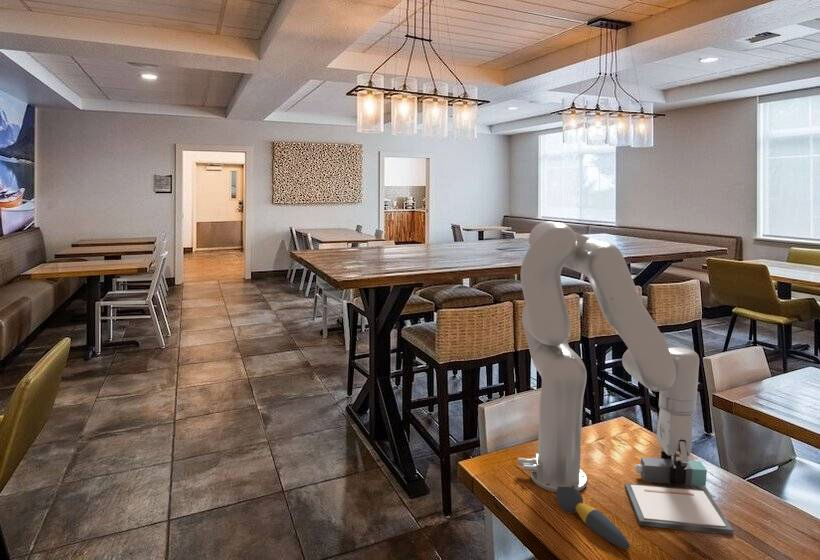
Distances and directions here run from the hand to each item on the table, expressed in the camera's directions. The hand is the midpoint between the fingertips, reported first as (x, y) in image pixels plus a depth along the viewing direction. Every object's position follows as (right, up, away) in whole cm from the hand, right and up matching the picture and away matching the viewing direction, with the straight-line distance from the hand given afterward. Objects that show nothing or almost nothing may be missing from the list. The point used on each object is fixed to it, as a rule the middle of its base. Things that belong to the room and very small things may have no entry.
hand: (672, 474), depth 119 cm
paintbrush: (-25, -4, -15) cm, 29 cm away
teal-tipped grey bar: (0, -1, 0) cm, 1 cm away
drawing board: (-5, -3, -11) cm, 13 cm away
